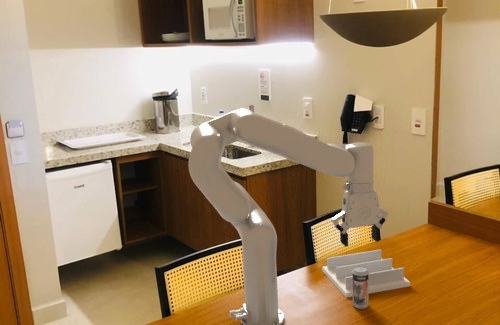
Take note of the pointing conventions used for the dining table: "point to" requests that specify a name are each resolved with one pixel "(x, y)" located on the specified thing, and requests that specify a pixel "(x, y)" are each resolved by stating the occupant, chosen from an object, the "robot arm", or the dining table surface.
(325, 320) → the dining table surface
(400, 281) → the drying rack
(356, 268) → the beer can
